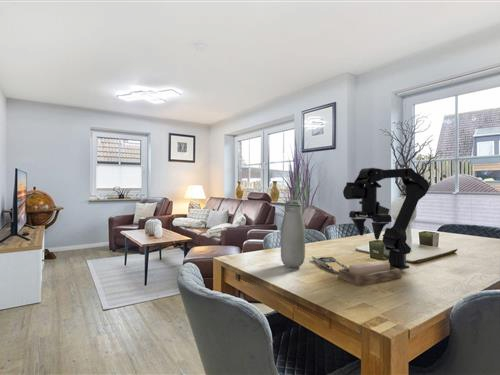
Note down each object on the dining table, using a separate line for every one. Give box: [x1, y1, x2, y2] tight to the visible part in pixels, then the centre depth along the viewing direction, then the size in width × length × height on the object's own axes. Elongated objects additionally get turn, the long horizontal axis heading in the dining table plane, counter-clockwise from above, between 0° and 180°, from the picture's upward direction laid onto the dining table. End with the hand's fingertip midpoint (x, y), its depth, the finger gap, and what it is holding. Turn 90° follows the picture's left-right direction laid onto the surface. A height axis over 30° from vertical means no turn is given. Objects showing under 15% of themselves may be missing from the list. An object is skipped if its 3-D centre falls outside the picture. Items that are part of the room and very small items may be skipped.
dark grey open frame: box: [311, 256, 349, 275], centre depth 124 cm, size 22×3×10 cm
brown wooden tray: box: [337, 266, 402, 287], centre depth 109 cm, size 21×10×3 cm, turn 114°
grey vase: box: [280, 199, 306, 269], centre depth 123 cm, size 10×10×28 cm
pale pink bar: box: [348, 260, 390, 276], centre depth 109 cm, size 16×4×4 cm, turn 114°
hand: (369, 237), depth 120 cm, fingers open, 9 cm apart
